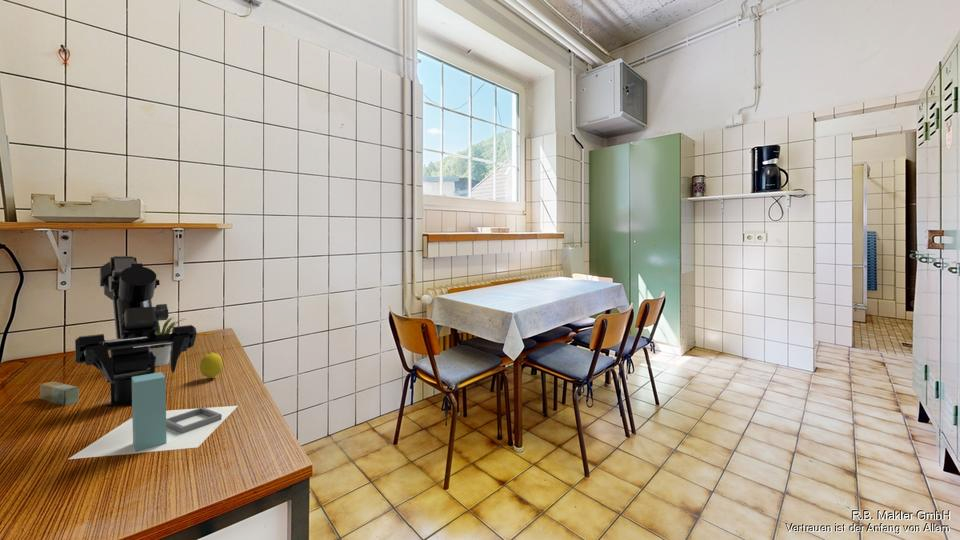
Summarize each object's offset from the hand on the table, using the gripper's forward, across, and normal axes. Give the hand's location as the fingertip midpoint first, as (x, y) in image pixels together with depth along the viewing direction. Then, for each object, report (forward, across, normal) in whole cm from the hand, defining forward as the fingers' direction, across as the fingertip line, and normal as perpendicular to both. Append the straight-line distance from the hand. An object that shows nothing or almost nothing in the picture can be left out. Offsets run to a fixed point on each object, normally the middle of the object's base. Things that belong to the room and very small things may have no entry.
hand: (144, 376), depth 76 cm
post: (+12, 0, +4) cm, 13 cm away
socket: (+9, +8, +8) cm, 14 cm away
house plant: (-35, +11, +53) cm, 64 cm away
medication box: (-19, -12, +38) cm, 44 cm away
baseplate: (+9, +3, +9) cm, 13 cm away
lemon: (-14, +18, +32) cm, 40 cm away
